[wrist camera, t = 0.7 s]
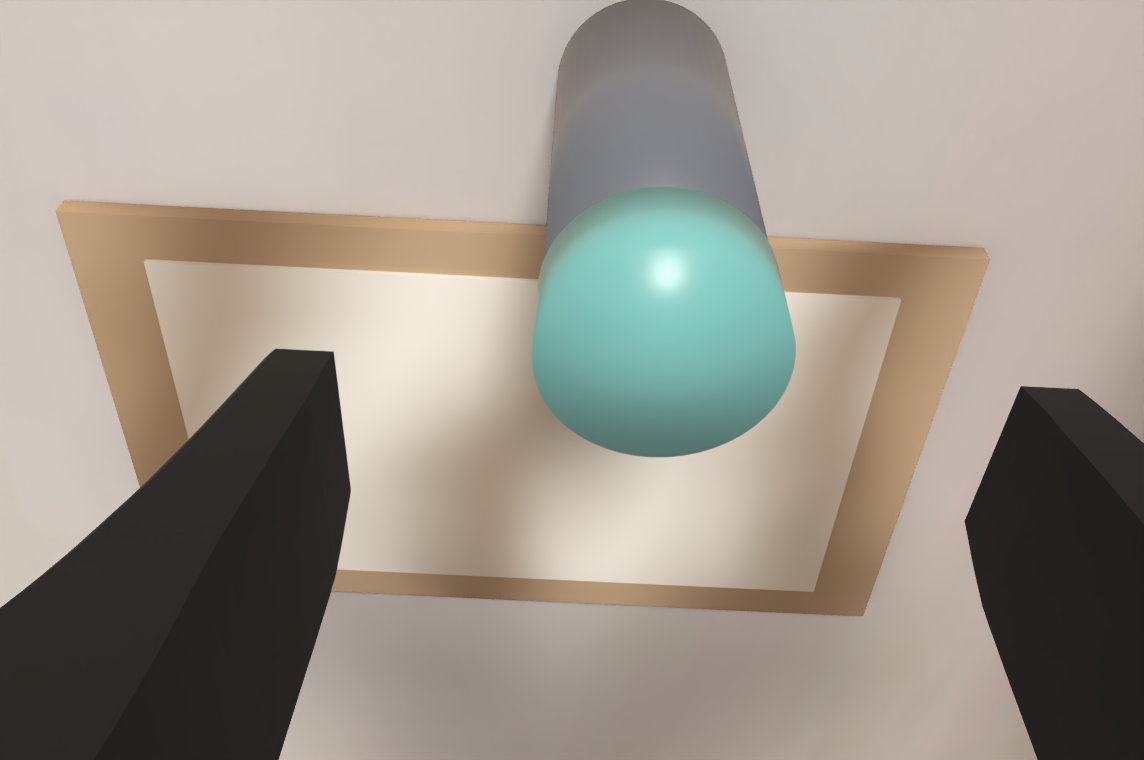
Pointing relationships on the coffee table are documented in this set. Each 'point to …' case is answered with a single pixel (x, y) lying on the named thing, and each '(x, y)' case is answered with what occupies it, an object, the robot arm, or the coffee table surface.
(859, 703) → the coffee table surface
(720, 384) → the marker
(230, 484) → the robot arm
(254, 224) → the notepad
